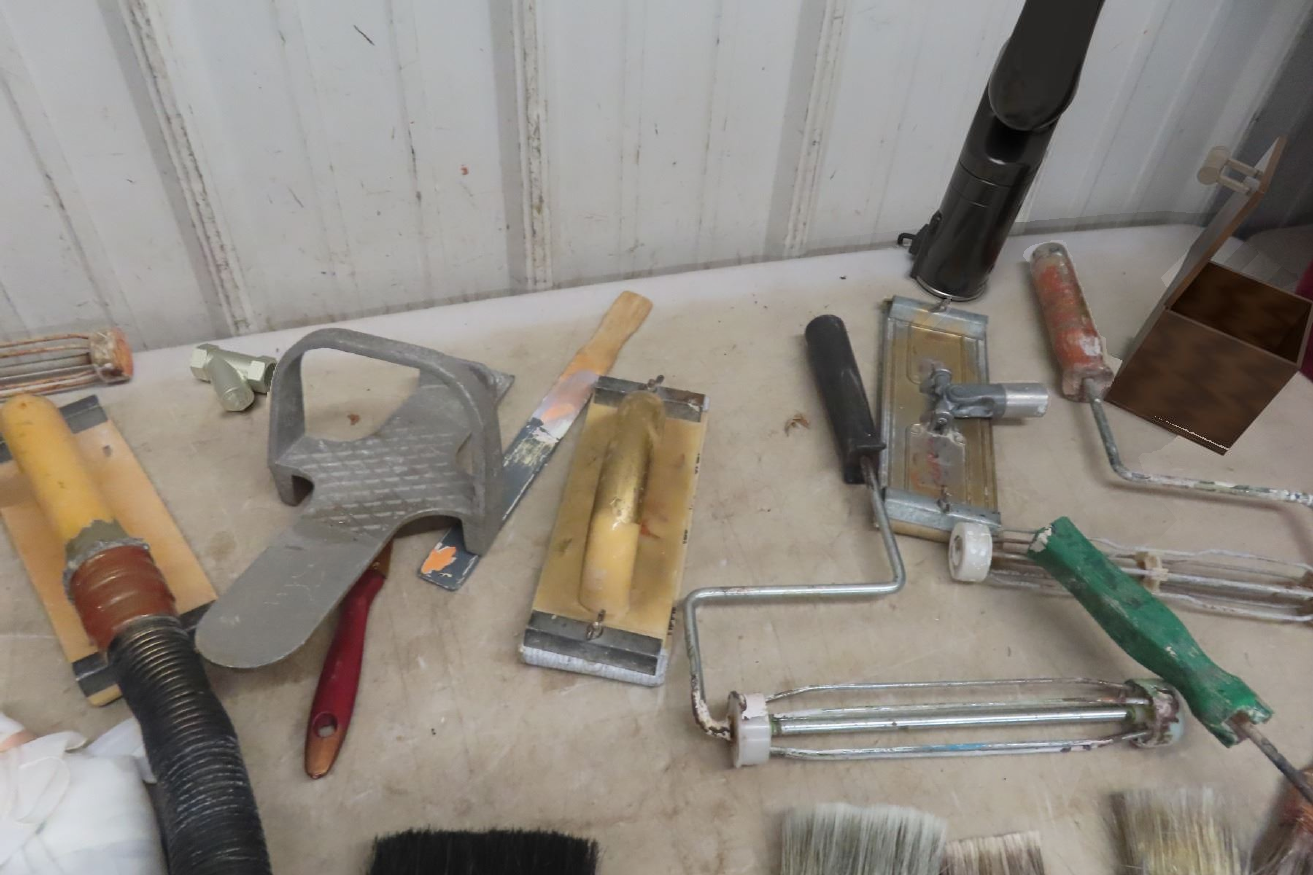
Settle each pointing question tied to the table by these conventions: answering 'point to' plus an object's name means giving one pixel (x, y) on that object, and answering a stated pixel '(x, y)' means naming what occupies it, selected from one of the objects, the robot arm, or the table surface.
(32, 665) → the table surface
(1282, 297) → the chest
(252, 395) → the pipe fitting
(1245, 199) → the lid
